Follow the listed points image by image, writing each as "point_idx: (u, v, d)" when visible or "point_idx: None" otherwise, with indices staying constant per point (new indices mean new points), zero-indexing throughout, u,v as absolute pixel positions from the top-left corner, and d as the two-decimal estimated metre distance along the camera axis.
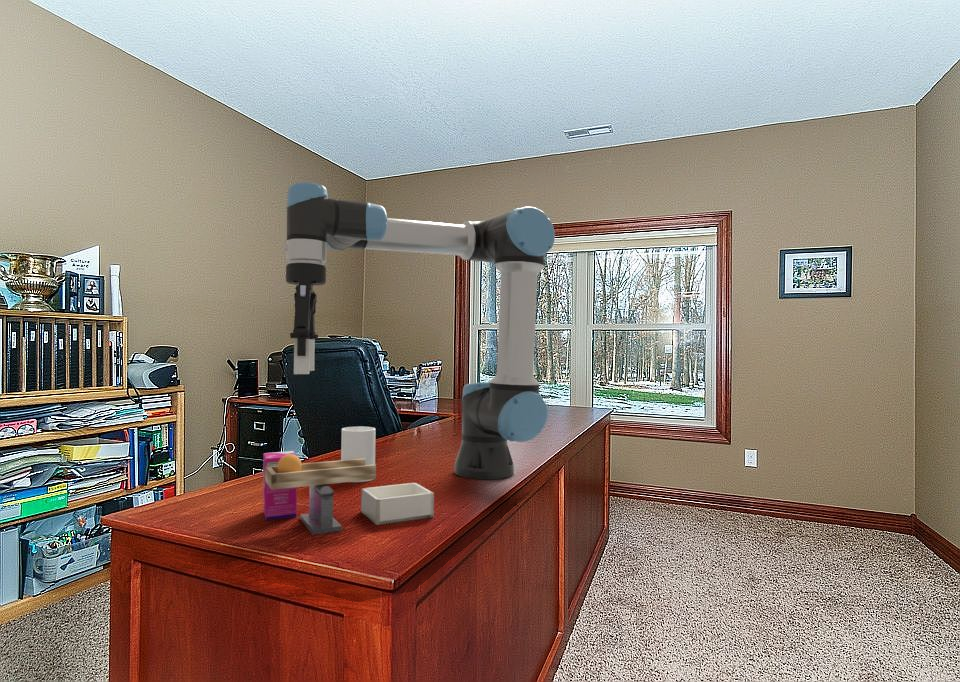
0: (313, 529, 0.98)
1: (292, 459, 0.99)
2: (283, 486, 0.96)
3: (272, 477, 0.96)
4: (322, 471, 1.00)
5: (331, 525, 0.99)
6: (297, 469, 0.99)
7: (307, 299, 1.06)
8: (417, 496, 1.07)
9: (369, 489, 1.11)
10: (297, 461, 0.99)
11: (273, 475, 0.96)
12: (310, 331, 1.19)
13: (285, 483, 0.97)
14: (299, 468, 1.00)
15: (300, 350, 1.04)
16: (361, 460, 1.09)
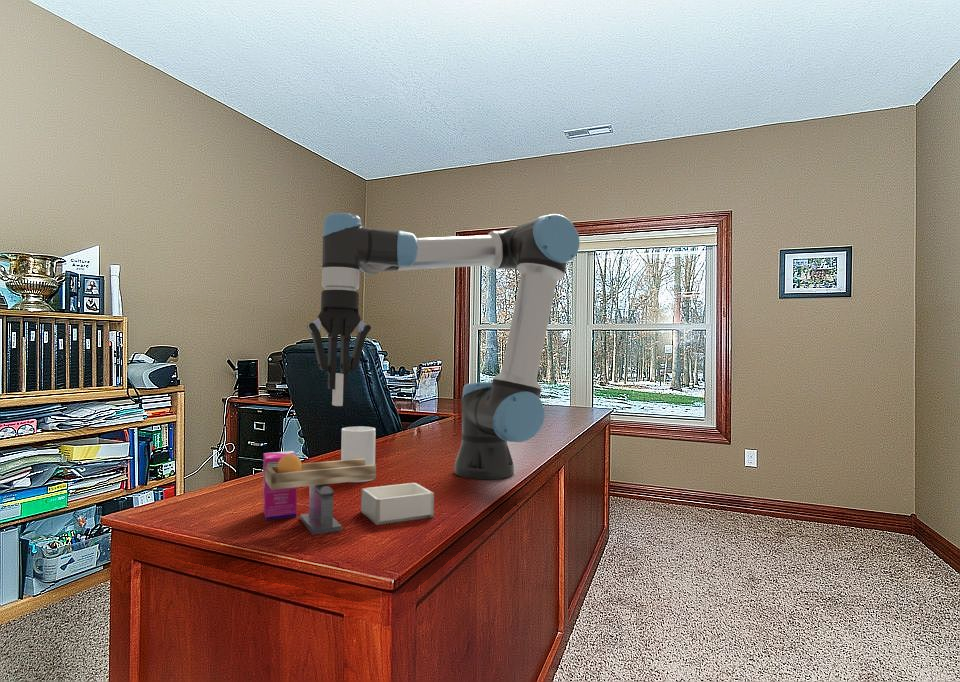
0: (313, 529, 0.98)
1: (292, 459, 0.99)
2: (283, 486, 0.96)
3: (272, 477, 0.96)
4: (322, 471, 1.00)
5: (331, 525, 0.99)
6: (297, 469, 0.99)
7: (314, 337, 1.15)
8: (417, 496, 1.07)
9: (369, 489, 1.11)
10: (297, 461, 0.99)
11: (273, 475, 0.96)
12: (342, 361, 1.18)
13: (285, 483, 0.97)
14: (299, 468, 1.00)
15: (328, 384, 1.17)
16: (361, 460, 1.09)
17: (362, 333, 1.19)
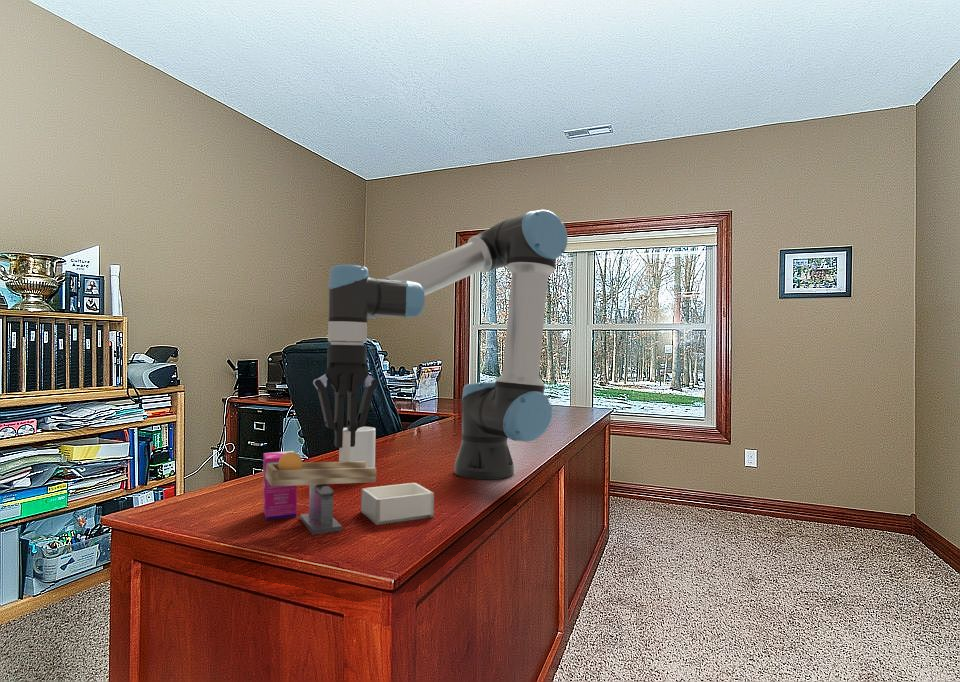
0: (313, 529, 0.98)
1: (293, 457, 0.99)
2: (283, 483, 0.97)
3: (273, 474, 0.96)
4: (323, 470, 1.00)
5: (331, 525, 0.99)
6: (298, 467, 0.99)
7: (320, 394, 1.10)
8: (417, 496, 1.07)
9: (369, 489, 1.11)
10: (297, 459, 1.00)
11: (274, 472, 0.96)
12: (349, 418, 1.13)
13: (285, 480, 0.97)
14: (300, 466, 1.00)
15: (335, 442, 1.12)
16: (362, 463, 1.09)
17: (370, 388, 1.14)
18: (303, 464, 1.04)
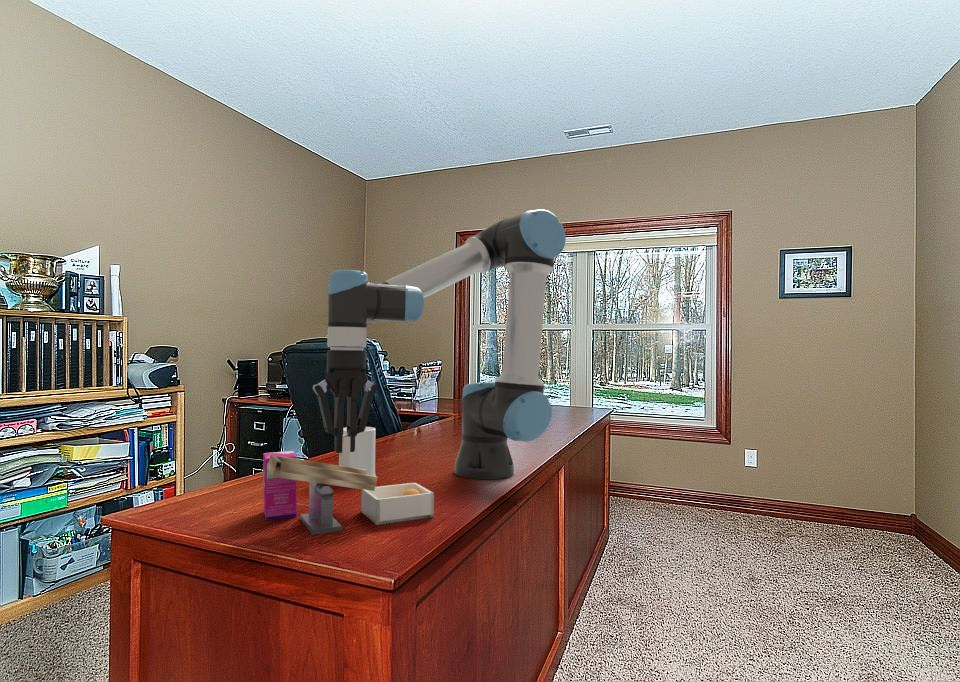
0: (313, 529, 0.98)
1: (412, 494, 1.10)
2: (285, 476, 0.97)
3: (277, 464, 0.96)
4: (326, 470, 1.00)
5: (331, 525, 0.99)
6: None
7: (320, 399, 1.10)
8: (417, 496, 1.07)
9: None
10: None
11: (278, 463, 0.96)
12: (349, 423, 1.13)
13: (287, 473, 0.97)
14: None
15: (335, 447, 1.12)
16: (362, 470, 1.09)
17: (369, 393, 1.14)
18: (306, 461, 1.04)
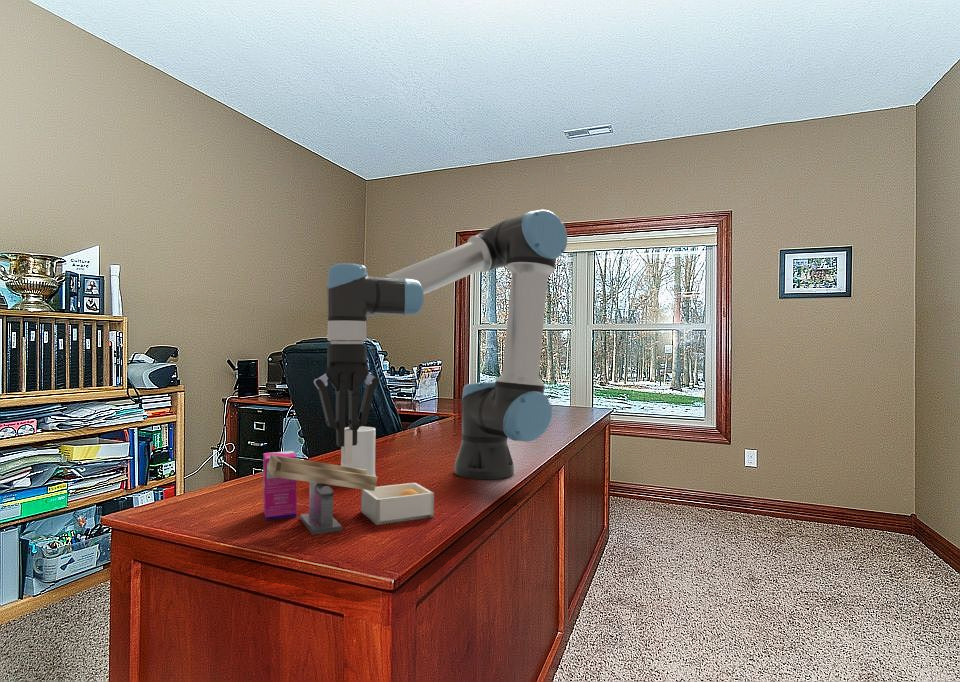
0: (313, 529, 0.98)
1: None
2: (285, 476, 0.97)
3: (277, 464, 0.96)
4: (326, 470, 1.00)
5: (331, 525, 0.99)
6: None
7: (321, 393, 1.10)
8: (417, 496, 1.07)
9: None
10: (413, 494, 1.10)
11: (278, 463, 0.96)
12: (351, 417, 1.13)
13: (287, 473, 0.97)
14: None
15: (337, 441, 1.13)
16: (362, 470, 1.09)
17: (370, 386, 1.15)
18: (306, 461, 1.04)
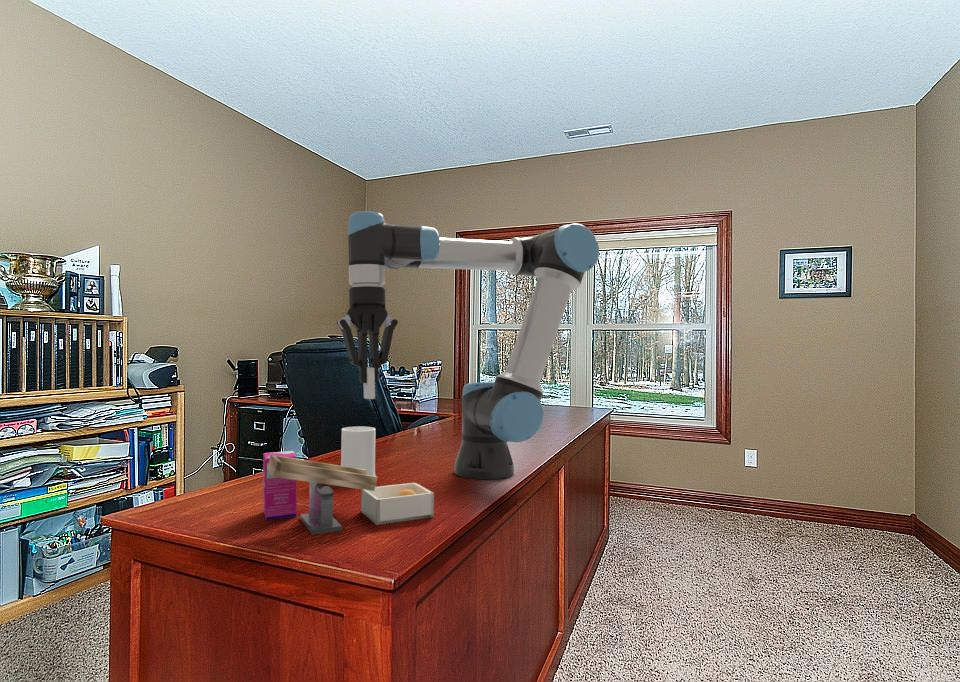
0: (313, 529, 0.98)
1: None
2: (285, 476, 0.97)
3: (277, 464, 0.96)
4: (326, 470, 1.00)
5: (331, 525, 0.99)
6: None
7: (345, 333, 1.18)
8: (417, 496, 1.07)
9: None
10: None
11: (278, 463, 0.96)
12: (372, 356, 1.21)
13: (287, 473, 0.97)
14: None
15: (360, 378, 1.21)
16: (362, 470, 1.09)
17: (390, 327, 1.23)
18: (306, 461, 1.04)
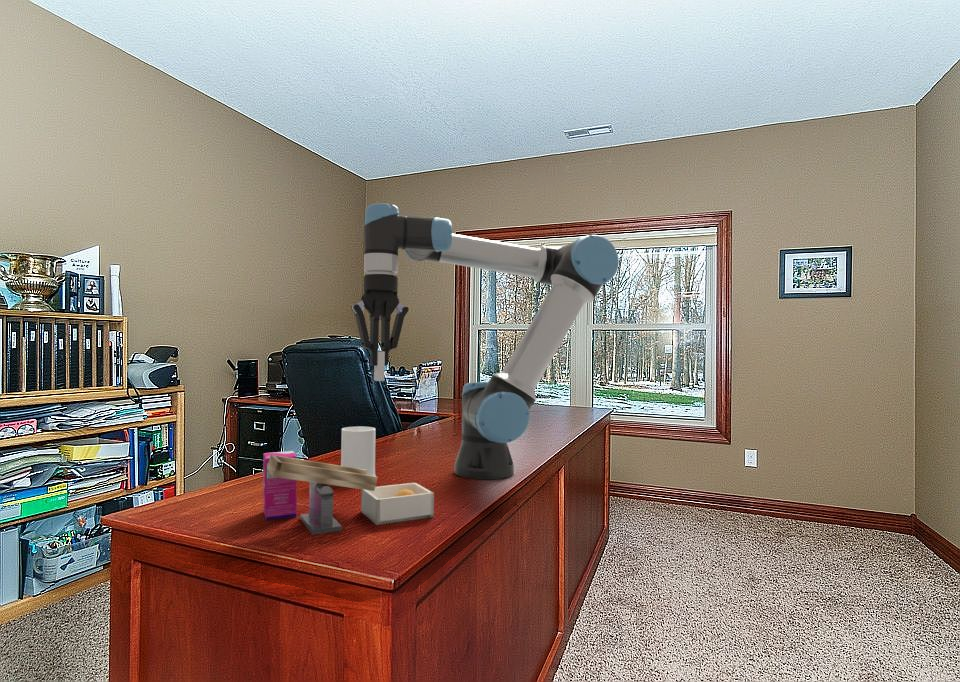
0: (313, 529, 0.98)
1: None
2: (285, 476, 0.97)
3: (277, 464, 0.96)
4: (326, 470, 1.00)
5: (331, 525, 0.99)
6: None
7: (358, 317, 1.25)
8: (417, 496, 1.07)
9: None
10: None
11: (278, 463, 0.96)
12: (383, 340, 1.28)
13: (287, 473, 0.97)
14: None
15: (371, 360, 1.27)
16: (362, 470, 1.09)
17: (401, 314, 1.29)
18: (306, 461, 1.04)
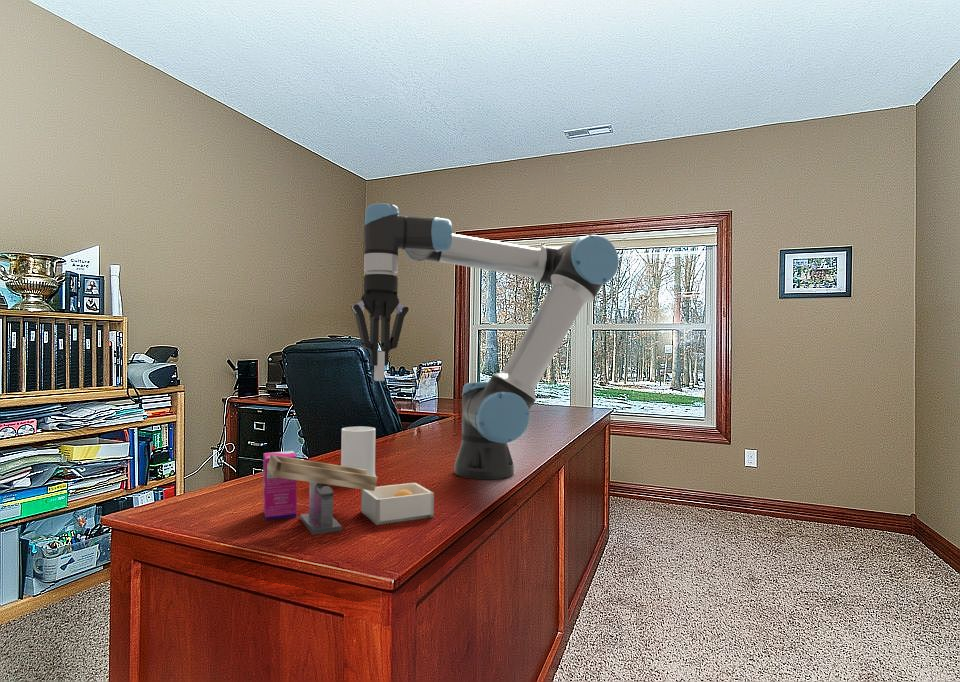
0: (313, 529, 0.98)
1: None
2: (285, 476, 0.97)
3: (277, 464, 0.96)
4: (326, 470, 1.00)
5: (331, 525, 0.99)
6: None
7: (358, 317, 1.25)
8: (417, 496, 1.07)
9: None
10: None
11: (278, 463, 0.96)
12: (383, 340, 1.28)
13: (287, 473, 0.97)
14: (410, 494, 1.10)
15: (371, 360, 1.27)
16: (362, 470, 1.09)
17: (401, 314, 1.29)
18: (306, 461, 1.04)
